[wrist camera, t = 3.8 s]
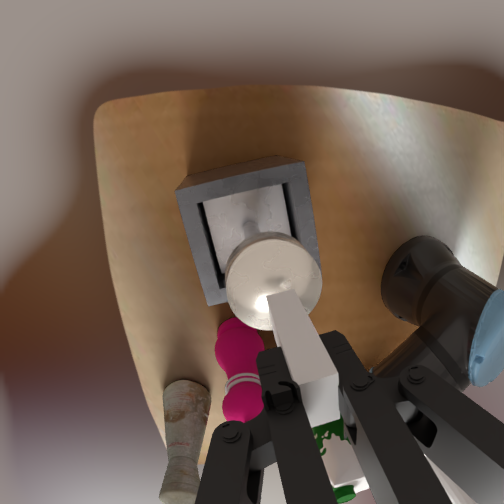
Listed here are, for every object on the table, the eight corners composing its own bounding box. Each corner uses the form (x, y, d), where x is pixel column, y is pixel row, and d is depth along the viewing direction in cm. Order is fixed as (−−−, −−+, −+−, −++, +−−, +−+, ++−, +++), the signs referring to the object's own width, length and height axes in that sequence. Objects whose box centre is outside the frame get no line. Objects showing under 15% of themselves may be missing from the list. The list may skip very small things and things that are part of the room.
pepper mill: (269, 333, 49) (298, 430, 30) (235, 358, 50) (248, 457, 31) (239, 305, 47) (256, 403, 28) (204, 332, 48) (204, 434, 29)
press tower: (276, 155, 40) (304, 161, 28) (292, 240, 44) (322, 278, 32) (186, 176, 39) (174, 191, 27) (209, 260, 44) (208, 306, 31)
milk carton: (308, 415, 57) (335, 494, 39) (349, 405, 58) (384, 478, 39) (307, 438, 61) (330, 510, 42) (345, 428, 61) (374, 496, 43)
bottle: (203, 372, 50) (206, 523, 24) (216, 406, 54) (226, 540, 27) (156, 379, 50) (136, 523, 24) (172, 412, 53) (166, 542, 27)
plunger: (279, 181, 32) (329, 213, 18) (292, 252, 35) (340, 324, 21) (202, 199, 31) (194, 245, 18) (221, 270, 34) (228, 354, 21)
